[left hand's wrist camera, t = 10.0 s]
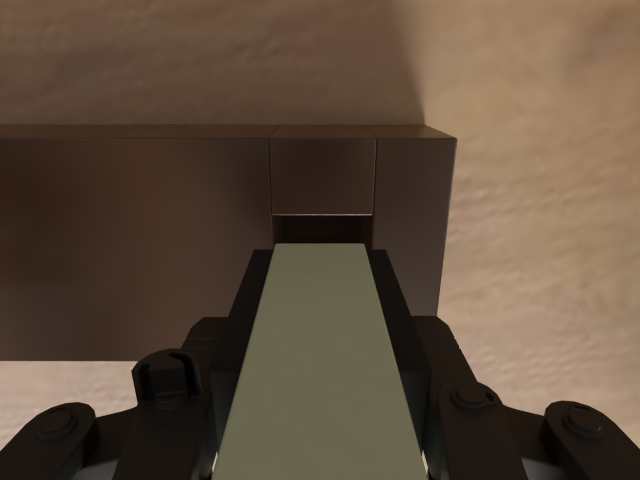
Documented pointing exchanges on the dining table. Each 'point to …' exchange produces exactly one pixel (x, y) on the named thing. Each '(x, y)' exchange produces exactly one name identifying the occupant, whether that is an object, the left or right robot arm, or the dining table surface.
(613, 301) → the dining table surface
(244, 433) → the peg
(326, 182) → the peg block
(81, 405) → the left robot arm
